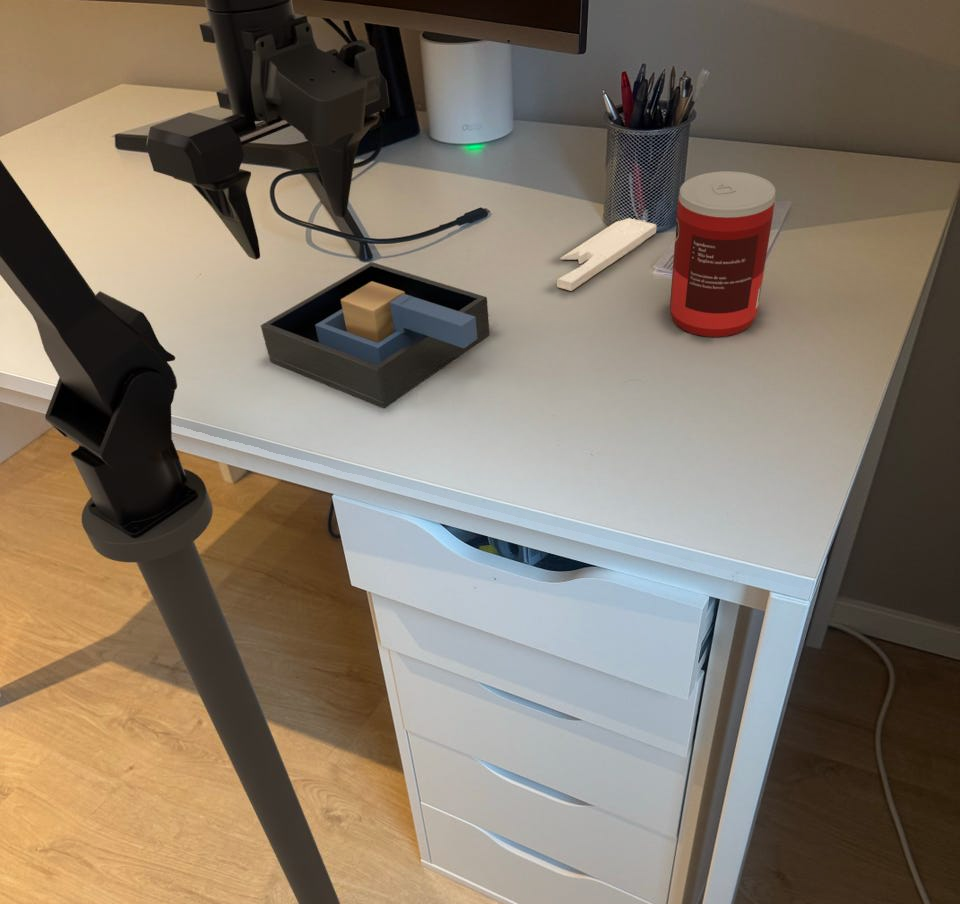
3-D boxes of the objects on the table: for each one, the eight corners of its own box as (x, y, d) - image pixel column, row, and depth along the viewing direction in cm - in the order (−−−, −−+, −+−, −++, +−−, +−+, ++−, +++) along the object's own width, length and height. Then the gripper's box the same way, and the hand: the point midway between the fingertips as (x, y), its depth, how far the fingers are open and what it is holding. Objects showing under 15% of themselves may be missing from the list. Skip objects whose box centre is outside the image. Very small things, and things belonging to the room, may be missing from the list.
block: (380, 353, 79) (373, 310, 76) (348, 342, 81) (340, 299, 78) (411, 334, 81) (404, 291, 78) (378, 322, 83) (371, 280, 80)
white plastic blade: (529, 279, 89) (529, 268, 88) (616, 224, 96) (616, 213, 95) (571, 291, 86) (571, 279, 85) (657, 233, 94) (657, 222, 93)
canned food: (719, 288, 85) (734, 163, 77) (775, 322, 80) (798, 192, 72) (651, 311, 83) (659, 185, 75) (704, 347, 78) (719, 217, 70)
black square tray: (384, 408, 75) (377, 369, 72) (270, 362, 82) (260, 325, 79) (489, 334, 82) (487, 296, 79) (377, 297, 89) (371, 261, 86)
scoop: (444, 398, 74) (437, 342, 71) (320, 350, 81) (308, 297, 78) (501, 356, 78) (498, 301, 74) (378, 314, 85) (370, 262, 81)
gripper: (213, 52, 52) (276, 309, 64) (429, -20, 61) (451, 215, 73) (105, 32, 58) (181, 272, 69) (319, -32, 67) (355, 189, 78)
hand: (298, 236), depth 72 cm, fingers open, 9 cm apart
